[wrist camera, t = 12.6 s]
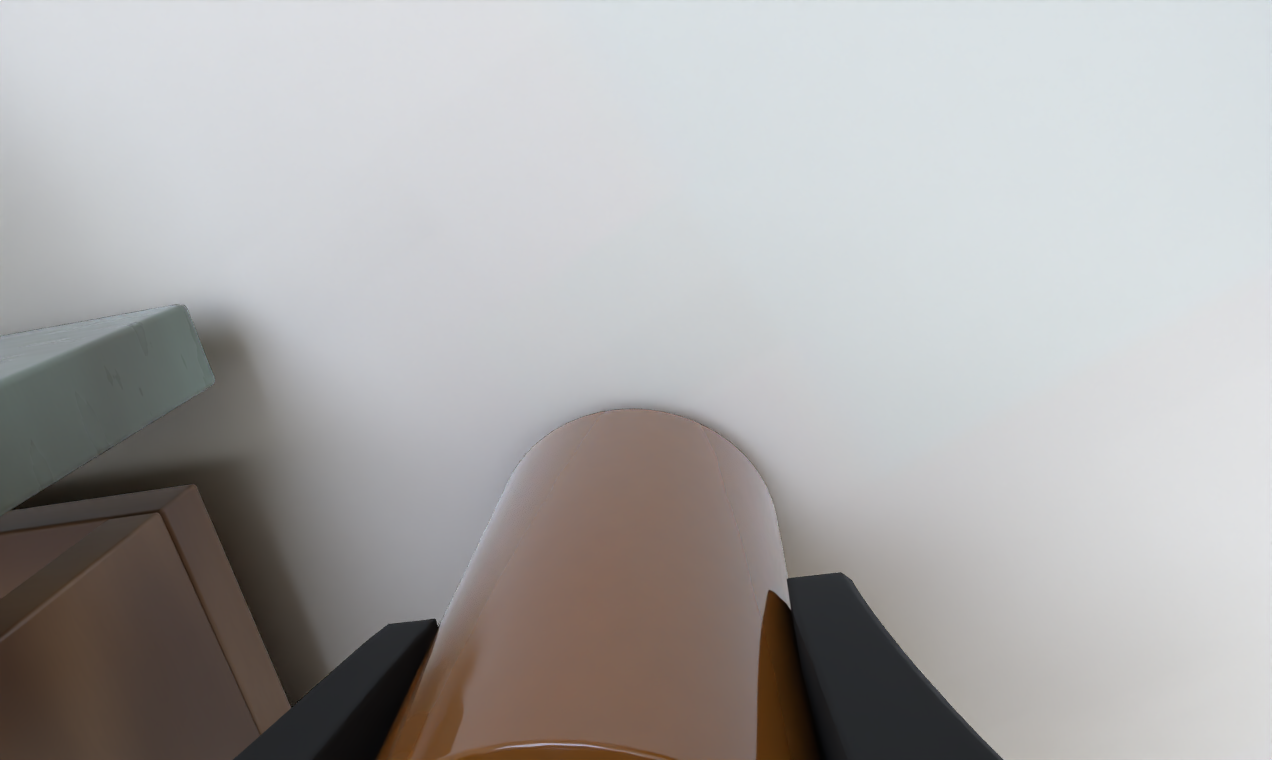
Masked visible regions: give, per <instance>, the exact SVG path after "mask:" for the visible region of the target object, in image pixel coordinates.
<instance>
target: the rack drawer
mask: <svg viewBox="0 0 1272 760" xmlns="http://www.w3.org/2000/svg"><path fill="white" fill-rule="evenodd" d="M214 383H215V377H214V374H213V372H212V369H211V367H210V364H209V362H208V359H207V357H206V354H205V352H204V349H203V347H202V344H201V342H200V339H199V337H198V334H197V332H196V329H195V327H194V324H193V322H192V319H191V317H190V314H189V312H188V309H187V308H186V306H185V305H180V304H175V305H170V306H164V307H159V308H153V309H148V310H142V311H137V312H131V313H125V314H120V315H114V316H109V317H103V318H98V319H92V320H87V321H81V322H75V323H70V324H64V325H59V326H53V327H48V328H42V329H37V330H31V331H25V332H20V333H14V334H9V335H3V336H0V760H233V759H234V758H235V757H236V756H238V755H239V754H240V753H241V752H242V751H243V750H244V749H246V748H247V747H248V746H249V745H250V744H251V743H252V742H253V741H255V740H256V739H257V738H258V737H259V736H260V735H261V734H262V733H264V732H265V731H266V730H267V729H268V728H269V727H270V726H271V725H273V724H274V723H275V722H276V721H277V720H278V719H279V718H280V717H282V716H283V715H284V714H285V713H286V712H287V711H288V710H289V709H291V706H290V703H289V701H288V699H287V696H286V694H285V692H284V689H283V687H282V685H281V682H280V680H279V678H278V675H277V673H276V671H275V668H274V666H273V664H272V661H271V659H270V657H269V654H268V652H267V650H266V647H265V645H264V643H263V640H262V638H261V636H260V633H259V631H258V628H257V626H256V624H255V621H254V619H253V617H252V614H251V612H250V610H249V607H248V605H247V603H246V600H245V598H244V596H243V593H242V591H241V589H240V586H239V584H238V582H237V579H236V577H235V575H234V572H233V570H232V568H231V565H230V563H229V561H228V558H227V556H226V554H225V551H224V549H223V547H222V544H221V542H220V540H219V537H218V535H217V533H216V530H215V528H214V526H213V523H212V521H211V519H210V516H209V514H208V512H207V509H206V507H205V505H204V502H203V500H202V498H201V495H200V493H199V491H198V488H197V486H196V485H195V484H190V485H183V486H176V487H169V488H162V489H156V490H149V491H142V492H135V493H128V494H121V495H114V496H107V497H101V498H94V499H87V500H80V501H73V502H66V503H59V504H52V505H46V506H39V507H32V508H25V509H18V510H11V509H13V508H15V507H16V506H18V505H20V504H21V503H23V502H24V501H26V500H28V499H29V498H31V497H32V496H34V495H36V494H37V493H39V492H41V491H42V490H44V489H45V488H47V487H49V486H50V485H52V484H54V483H55V482H57V481H58V480H60V479H62V478H63V477H65V476H67V475H68V474H70V473H71V472H73V471H75V470H76V469H78V468H79V467H81V466H83V465H84V464H86V463H88V462H89V461H91V460H92V459H94V458H96V457H97V456H99V455H101V454H102V453H104V452H105V451H107V450H109V449H110V448H112V447H113V446H115V445H117V444H118V443H120V442H122V441H123V440H125V439H126V438H128V437H130V436H131V435H133V434H135V433H136V432H138V431H139V430H141V429H143V428H144V427H146V426H148V425H149V424H151V423H152V422H154V421H156V420H157V419H159V418H160V417H162V416H164V415H165V414H167V413H169V412H170V411H172V410H173V409H175V408H177V407H178V406H180V405H182V404H183V403H185V402H186V401H188V400H190V399H191V398H193V397H195V396H196V395H198V394H199V393H201V392H203V391H204V390H206V389H207V388H209V387H211V386H212V385H214ZM10 510H11V511H10Z"/></svg>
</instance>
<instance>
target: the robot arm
mask: <svg viewBox="0 0 1272 760" xmlns="http://www.w3.org/2000/svg"><path fill="white" fill-rule="evenodd" d="M787 586H788V593H789V600H790V607H791V613H792V618H793V624H794V629H795V635H796V640H797V646H798V651H799V657H800V662H801V668H802V673H803V677H804V681H805V685H806V689H807V692H808V696H809V700H810V705H811V709H812V713H813V718H814V722H815V726H816V731H817V735H818V739H819V744H820V749H821V754H822V760H1003V759H1002V758H1001V757H1000V756H999V755H998V754H997V753H996V752H995V751H994V750H993V749H992V748H991V747H990V746H989V745H988V744H987V743H986V742H985V741H984V740H983V739H982V738H981V737H980V736H979V735H978V734H977V733H976V732H975V731H974V730H973V728H972V727H971V726H970V725H969V724H968V723H967V722H966V721H965V720H964V719H963V718H962V717H961V716H960V715H959V714H958V713H957V712H956V711H955V709H954V708H953V707H952V706H951V705H950V704H949V703H948V702H947V701H946V699H945V698H944V697H943V696H942V695H941V694H940V693H939V692H938V690H937V689H936V688H935V687H934V686H933V685H932V684H931V683H930V681H929V680H928V679H927V678H926V677H925V676H924V675H923V674H922V672H921V671H920V670H919V669H918V668H917V667H916V666H915V664H914V663H913V662H912V661H911V660H910V659H909V657H908V656H907V655H906V654H905V653H904V651H903V650H902V649H901V648H900V646H899V645H898V644H897V643H896V641H895V640H894V639H893V638H892V636H891V635H890V634H889V633H888V631H887V630H886V629H885V628H884V626H883V625H882V624H881V622H880V621H879V620H878V618H877V617H876V616H875V614H874V613H873V612H872V610H871V609H870V607H869V606H868V605H867V603H866V602H865V600H864V599H863V597H862V596H861V594H860V593H859V591H858V590H857V588H856V587H855V585H854V583H853V581H852V580H851V579H849V578H848V577H847V576H845V575H844V574H843V573H841V572H839V573H831V574H822V575H813V576H804V577H796V578H787ZM437 629H438V626H437V622H436V619H429V620H421V621H412V622H403V623H394V624H388V625H387V626H385V627H384V628H383V629H381V630H380V631H379V632H378V633H376V634H375V635H374V636H372V637H371V638H370V639H369V640H368V641H366V642H365V643H364V644H363V645H362V646H361V647H359V648H358V649H357V650H356V651H355V652H354V653H352V654H351V655H350V656H349V657H348V658H347V659H346V660H344V661H343V662H342V663H341V664H340V665H339V666H338V667H336V668H335V669H334V670H333V671H332V672H331V673H330V674H329V675H328V676H326V677H325V678H324V679H323V680H322V681H321V682H320V683H319V684H317V685H316V686H315V687H314V688H313V689H312V690H311V691H310V692H309V693H307V694H306V695H305V696H304V697H303V698H302V699H301V700H300V701H298V702H297V703H296V704H295V705H294V706H293V707H292V708H291V709H289V710H288V711H287V712H286V713H285V714H284V715H283V716H282V717H280V718H279V719H278V720H277V721H276V722H275V723H274V724H273V725H271V726H270V727H269V728H268V729H267V730H266V731H265V732H264V733H262V734H261V735H260V736H259V737H258V738H257V739H256V740H255V741H253V742H252V743H251V744H250V745H249V746H248V747H247V748H246V749H244V750H243V751H242V752H241V753H240V754H239V755H238V756H236V757H235V758H234V759H233V760H375V759H376V757H377V755H378V753H379V751H380V748H381V746H382V744H383V742H384V740H385V738H386V736H387V734H388V732H389V730H390V727H391V725H392V723H393V721H394V719H395V717H396V715H397V713H398V711H399V709H400V707H401V704H402V702H403V700H404V698H405V696H406V694H407V692H408V690H409V688H410V686H411V683H412V681H413V679H414V677H415V675H416V673H417V671H418V669H419V667H420V665H421V663H422V660H423V658H424V656H425V654H426V652H427V650H428V648H429V646H430V644H431V642H432V640H433V637H434V635H435V633H436V631H437Z"/></svg>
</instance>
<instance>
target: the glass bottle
mask: <svg viewBox="0 0 1272 760" xmlns="http://www.w3.org/2000/svg"><path fill="white" fill-rule="evenodd" d="M787 578H788V573H787V568H786V562H785V557H784V552H783V546H782V541H781V536H780V530H779V525H778V520H777V515H776V511H775V507H774V504H773V500H772V497H771V495H770V493H769V491H768V488H767V486H766V484H765V482H764V481H763V479H762V477H761V476H760V474H759V473H758V471H757V469H756V468H755V467H754V466H753V464H752V463H751V462H750V461H749V460H748V458H747V457H746V456H745V455H744V454H743V453H742V452H741V451H740V450H739V449H737V448H736V447H735V446H734V445H733V444H732V443H731V442H730V441H728V440H727V439H725V438H724V437H722V436H721V435H719V434H718V433H717V432H715V431H713V430H711V429H709V428H707V427H706V426H704V425H702V424H700V423H698V422H695V421H692V420H690V419H687V418H684V417H682V416H679V415H675V414H670V413H666V412H662V411H655V410H646V409H618V410H610V411H603V412H599V413H595V414H591V415H587V416H584V417H581V418H579V419H576V420H574V421H571V422H568V423H566V424H565V425H563V426H561V427H559V428H557V429H556V430H554V431H552V432H551V433H549V434H548V435H547V436H545V437H544V438H543V439H541V440H540V441H539V442H537V443H536V444H535V445H534V446H533V447H532V448H531V449H530V450H529V451H528V452H527V453H526V454H525V456H524V457H523V458H522V460H521V461H520V462H519V464H518V465H517V466H516V468H515V469H514V471H513V473H512V475H511V477H510V479H509V481H508V482H507V484H506V487H505V489H504V491H503V493H502V495H501V497H500V499H499V501H498V503H497V505H496V508H495V510H494V512H493V514H492V516H491V518H490V520H489V522H488V524H487V526H486V528H485V531H484V533H483V535H482V537H481V539H480V541H479V543H478V545H477V547H476V549H475V552H474V554H473V556H472V558H471V560H470V562H469V564H468V566H467V568H466V570H465V572H464V575H463V577H462V579H461V581H460V583H459V585H458V587H457V589H456V591H455V593H454V596H453V598H452V600H451V602H450V604H449V606H448V608H447V610H446V612H445V614H444V616H443V619H442V621H441V623H440V625H439V627H438V629H437V631H436V633H435V635H434V637H433V640H432V642H431V644H430V646H429V648H428V650H427V652H426V654H425V656H424V658H423V660H422V663H421V665H420V667H419V669H418V671H417V673H416V675H415V677H414V679H413V681H412V683H411V686H410V688H409V690H408V692H407V694H406V696H405V698H404V700H403V702H402V704H401V707H400V709H399V711H398V713H397V715H396V717H395V719H394V721H393V723H392V725H391V727H390V730H389V732H388V734H387V736H386V738H385V740H384V742H383V744H382V746H381V748H380V751H379V753H378V755H377V757H376V759H375V760H822V754H821V749H820V744H819V739H818V735H817V731H816V726H815V722H814V718H813V713H812V709H811V705H810V700H809V696H808V692H807V689H806V685H805V681H804V677H803V673H802V668H801V662H800V657H799V651H798V646H797V640H796V635H795V629H794V624H793V618H792V613H791V607H790V600H789V593H788V586H787Z"/></svg>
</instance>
